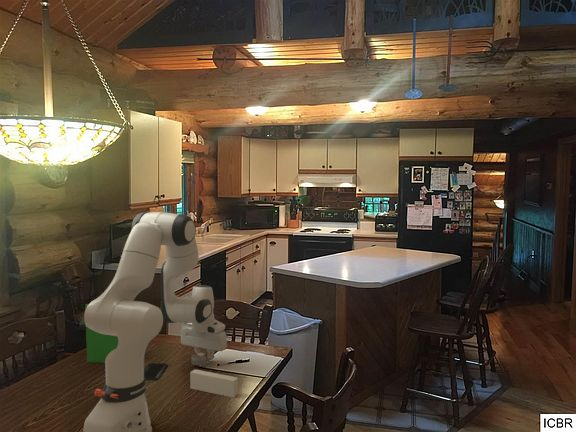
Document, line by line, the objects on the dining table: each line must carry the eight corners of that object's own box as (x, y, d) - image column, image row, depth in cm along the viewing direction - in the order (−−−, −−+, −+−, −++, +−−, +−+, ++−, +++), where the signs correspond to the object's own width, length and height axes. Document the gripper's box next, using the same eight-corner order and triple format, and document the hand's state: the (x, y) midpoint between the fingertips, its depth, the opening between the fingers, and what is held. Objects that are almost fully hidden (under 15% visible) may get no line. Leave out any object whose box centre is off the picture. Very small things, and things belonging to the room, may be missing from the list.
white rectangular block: (233, 397, 168) (233, 380, 167) (190, 388, 175) (190, 372, 174) (246, 387, 176) (246, 371, 175) (204, 379, 183) (204, 363, 183)
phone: (168, 363, 197) (156, 378, 182) (168, 366, 197) (156, 381, 182) (149, 363, 197) (136, 378, 182) (149, 365, 197) (136, 381, 182)
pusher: (206, 366, 192) (205, 356, 191) (191, 364, 195) (191, 354, 194) (218, 358, 200) (218, 349, 200) (204, 356, 203) (204, 346, 203)
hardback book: (87, 361, 201) (85, 304, 199) (95, 355, 208) (93, 300, 206) (128, 363, 199) (126, 305, 197) (135, 356, 206) (134, 301, 204)
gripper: (177, 323, 197) (177, 356, 198) (220, 330, 188) (220, 364, 189) (186, 319, 202) (187, 351, 203) (228, 325, 194) (229, 359, 195)
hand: (203, 358), depth 196 cm, fingers closed on pusher, 3 cm apart
